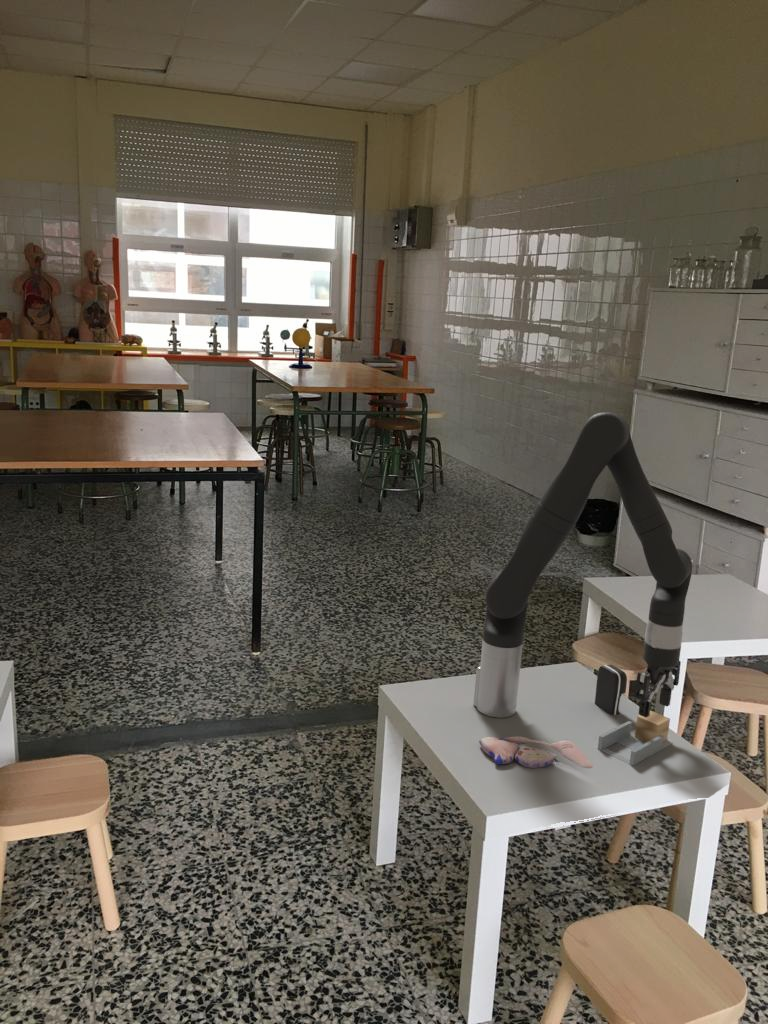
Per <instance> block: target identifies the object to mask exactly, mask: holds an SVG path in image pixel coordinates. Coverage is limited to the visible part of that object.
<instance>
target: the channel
mask: <svg viewBox="0 0 768 1024" xmlns="http://www.w3.org/2000/svg"><path fill="white" fill-rule="evenodd" d="M632 724H633V722H632V721H630V720H628V721H626V722H624V723H621V724H620V725H617V726H616V727H614V728H612V729H610V730H608V731H606V732H605V733H604V732H603V733H602V734H599V737H598V741H597V742H598V744H597V749H598V750H600V751H601V752H604V753H606V754H608V755H610V756H612V757H614V758H616V759H618V760H619V761H622V762H624V763H627V764H629V765H630V766H635V765H637V764H639V763H640V762H642V761H643V760H646V759H647V758H650V757H651V756H653V755H654V754H656V753H658V752H659V751H662V750H663V749H665V748H667V747H668V746H670V745H672V744H673V742H672V741H670V740H668V739H667V740H665V741H663V740H664V736H662V735H659V736H658V737H656V738H654V739H652V740H650V741H648V742H645V741H643V740H640V739H638V738H636V737H635V731H636V728H634V729H633V730H632V728H633V727H632V726H633V725H632ZM615 743H618V744H620V745H623V747H627V748H628V749H631V751H630V759H629V758H626V757H625V756H623V755H620V754H619V753H617V752H614V751H612V750H610V749H608V747H610V746H611V745H613V744H615Z"/></svg>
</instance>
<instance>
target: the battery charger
mask: <svg viewBox="0 0 768 1024" xmlns="http://www.w3.org/2000/svg"><path fill="white" fill-rule="evenodd" d="M627 681H628V677H627V674H626V672H625V671H624V670H622V669H621V668H618V667H617V666H616V665H615V666H614V665H613V664H607V665H606V664H603V665H601V666H599V668H598V671H597V677H596V686H595V687H596V688H595V697H594V705H595V706H597V707H598V708H600V709H601V710H603V711H605V712H606V713H608V714H609V715H611V716H615V715H619V714H620V713H621V712H620V709H619V707H620V701H621V697H622V695H623V694H624V695H625V694H626V693H627V691H626V690H627V685H628V683H627Z"/></svg>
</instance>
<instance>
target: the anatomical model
mask: <svg viewBox="0 0 768 1024" xmlns="http://www.w3.org/2000/svg"><path fill="white" fill-rule="evenodd" d="M478 741H479V742H478V743H479V746H480V747H481V749H482V750H483V752H484V753H485V754H486V755H488V756H489V757H491V758H492V759H493V760H494V763H496V764H497V765H505V764H510V763H511V762H513V761H514V760H515V761H516V762H517V763H519V764H520V765H522V766H523V767H526V768H531V769H532V768H534V769H535V768H542V767H543V768H544V767H547V766H549V765H551V764H552V763H553V762H555V760H556V757H557V756H558V754H557V753H555V752H552V751H550V750H546V749H542V748H537V747H522V748H521V747H520V749H519V746H518V745H527V743H526V742H529V743H535V744H541V745H545V746H550V747H551V748H552V749H554V750H556V751H557V752H559V753H560V754H561V756H563V757H564V758H566V759H567V760H568V761H570V762H573V763H574V764H576V765H578V766H580V767H581V768H583V769H592V768H594V765H593V763H592V762H591V760H589V758H587V756H586V755H585V754H584V753H583V752H582V751H581V750H580V749H579V748H578V746H576V744H575V743H573V742H572V741H570V740H569V739H567V738H566V739H563V740H559V741H557V742H553V743H549V742H546V741H544V740H535V739H531V738H528V737H525V736H506V737H492V736H487V737H483V738H481V739H479V740H478Z"/></svg>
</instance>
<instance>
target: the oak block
mask: <svg viewBox="0 0 768 1024" xmlns="http://www.w3.org/2000/svg"><path fill="white" fill-rule="evenodd" d="M670 722H671V718H669V717H668V716H667V717H666V716H664V715H662V714H659V713H657V712H655V711H652V710H651V709H650V715H649V717H647V718H646V717H643V716H641V715H639V714H638V715H637V718H636V725H635V729H636V731H635V737H636V738H638V739H640V740H643V741H645V742H648V741H650V740H652V739H654V738H656V737H658V736H659V735H662V736H664V740H663V741H665V740H668V734H669V730H670V729H669V728H670Z"/></svg>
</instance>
